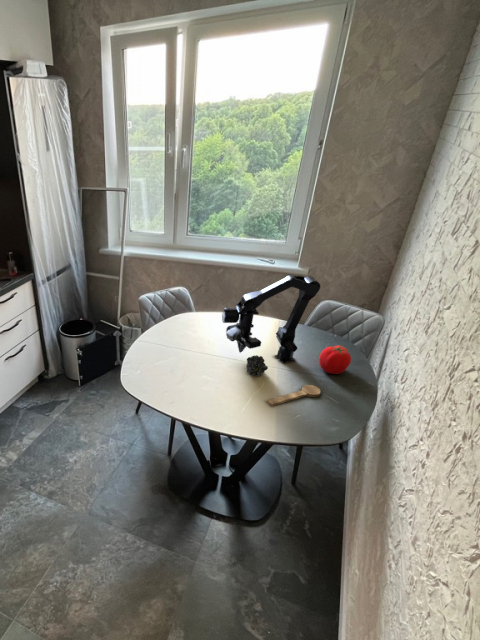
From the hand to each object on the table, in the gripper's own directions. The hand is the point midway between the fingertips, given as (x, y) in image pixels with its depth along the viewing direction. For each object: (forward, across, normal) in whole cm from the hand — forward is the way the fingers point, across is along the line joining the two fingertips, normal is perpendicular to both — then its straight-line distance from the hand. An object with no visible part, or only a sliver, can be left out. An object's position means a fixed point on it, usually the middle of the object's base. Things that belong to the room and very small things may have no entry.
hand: (240, 351), depth 189 cm
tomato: (+4, +24, +31) cm, 40 cm away
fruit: (+4, +12, 0) cm, 12 cm away
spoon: (+4, +34, +1) cm, 34 cm away
